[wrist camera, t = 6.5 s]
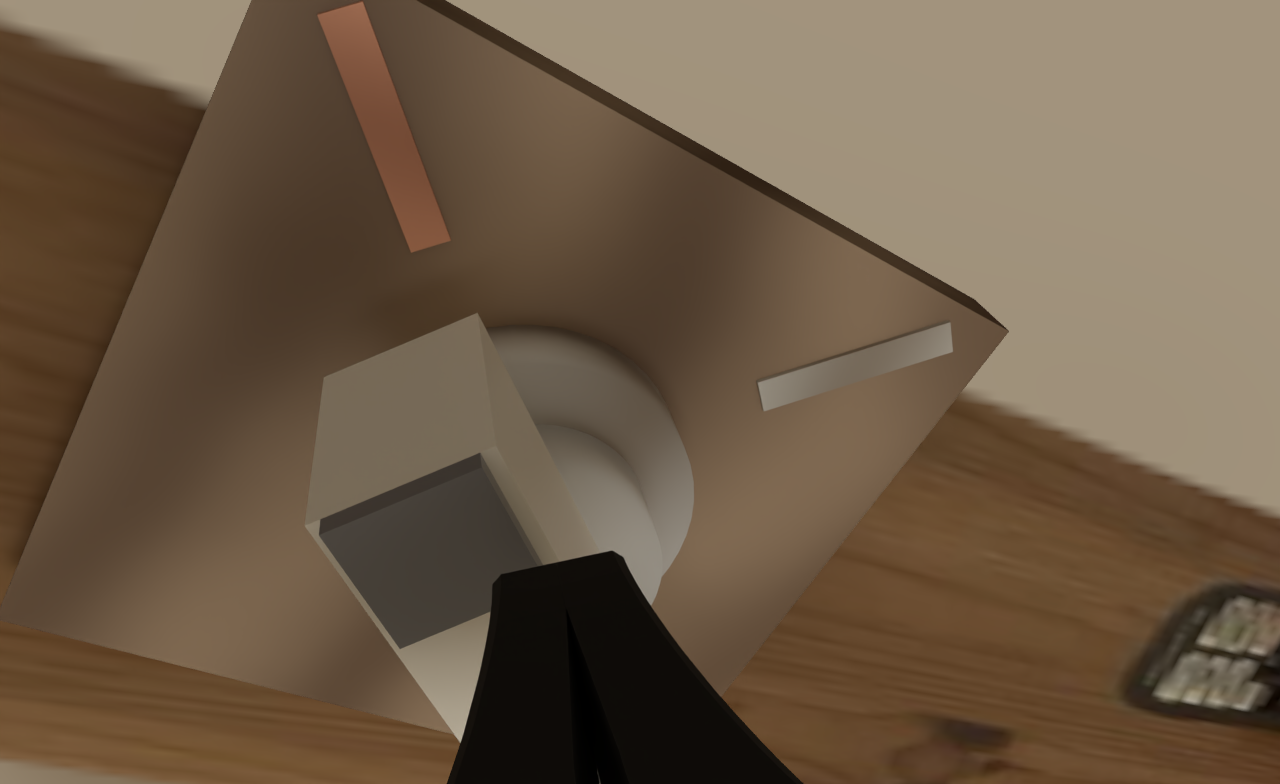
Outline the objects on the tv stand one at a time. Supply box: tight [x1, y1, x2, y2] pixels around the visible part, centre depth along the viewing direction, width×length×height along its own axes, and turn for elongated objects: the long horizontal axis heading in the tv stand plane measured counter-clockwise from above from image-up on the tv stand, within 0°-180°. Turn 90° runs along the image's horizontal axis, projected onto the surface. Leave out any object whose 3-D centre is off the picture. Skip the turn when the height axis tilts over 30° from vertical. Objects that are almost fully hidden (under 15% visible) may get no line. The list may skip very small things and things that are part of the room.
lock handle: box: [305, 313, 662, 743], centre depth 17 cm, size 10×4×5 cm, turn 21°
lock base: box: [0, 0, 1009, 734], centre depth 20 cm, size 15×14×3 cm
